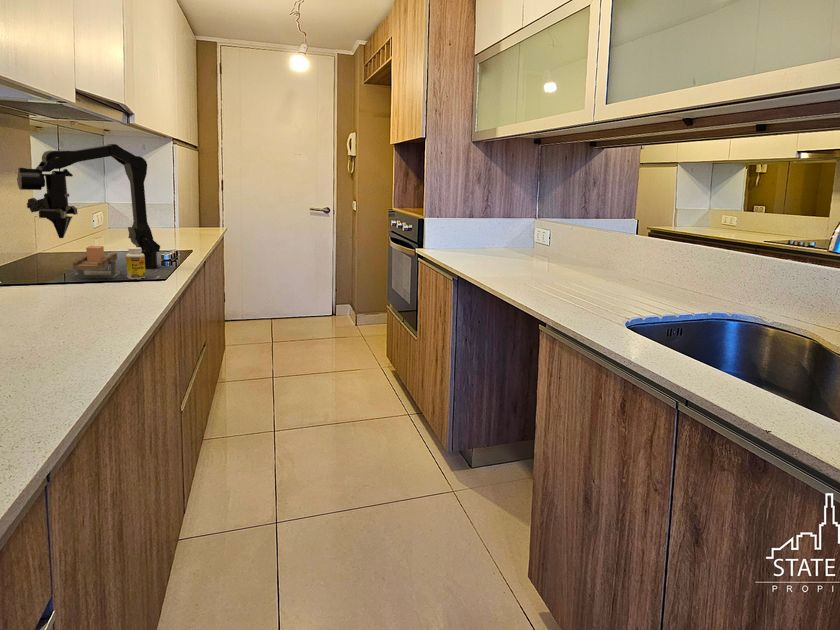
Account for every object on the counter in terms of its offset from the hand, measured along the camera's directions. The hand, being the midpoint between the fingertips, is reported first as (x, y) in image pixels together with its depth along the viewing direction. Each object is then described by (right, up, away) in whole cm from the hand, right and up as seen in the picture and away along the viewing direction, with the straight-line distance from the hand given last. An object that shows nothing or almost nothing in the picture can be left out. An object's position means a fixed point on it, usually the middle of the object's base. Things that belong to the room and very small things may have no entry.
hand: (61, 238), depth 196 cm
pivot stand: (+11, -12, +2) cm, 17 cm away
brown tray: (+11, -9, +1) cm, 14 cm away
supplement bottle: (+25, -14, +1) cm, 28 cm away
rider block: (+11, -7, +1) cm, 13 cm away
